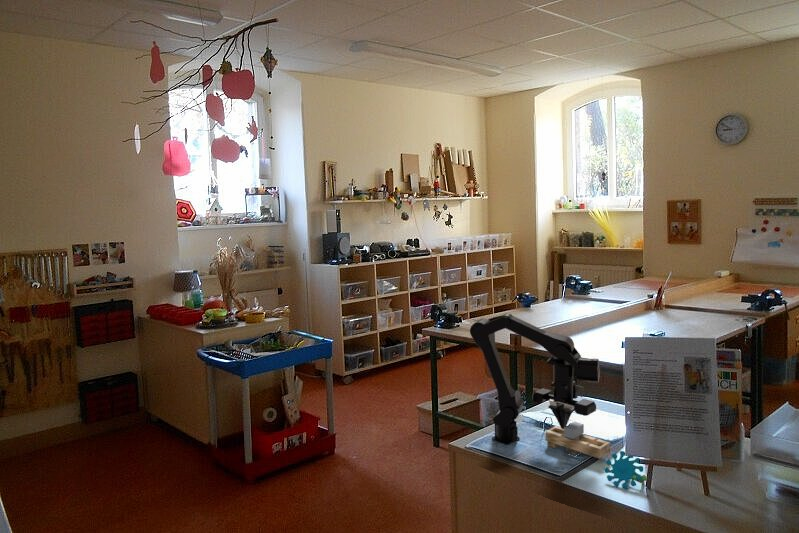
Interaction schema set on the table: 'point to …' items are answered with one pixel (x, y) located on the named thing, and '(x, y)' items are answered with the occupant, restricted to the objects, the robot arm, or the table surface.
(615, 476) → the gear
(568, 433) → the white rectangular block
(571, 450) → the beam
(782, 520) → the table surface
